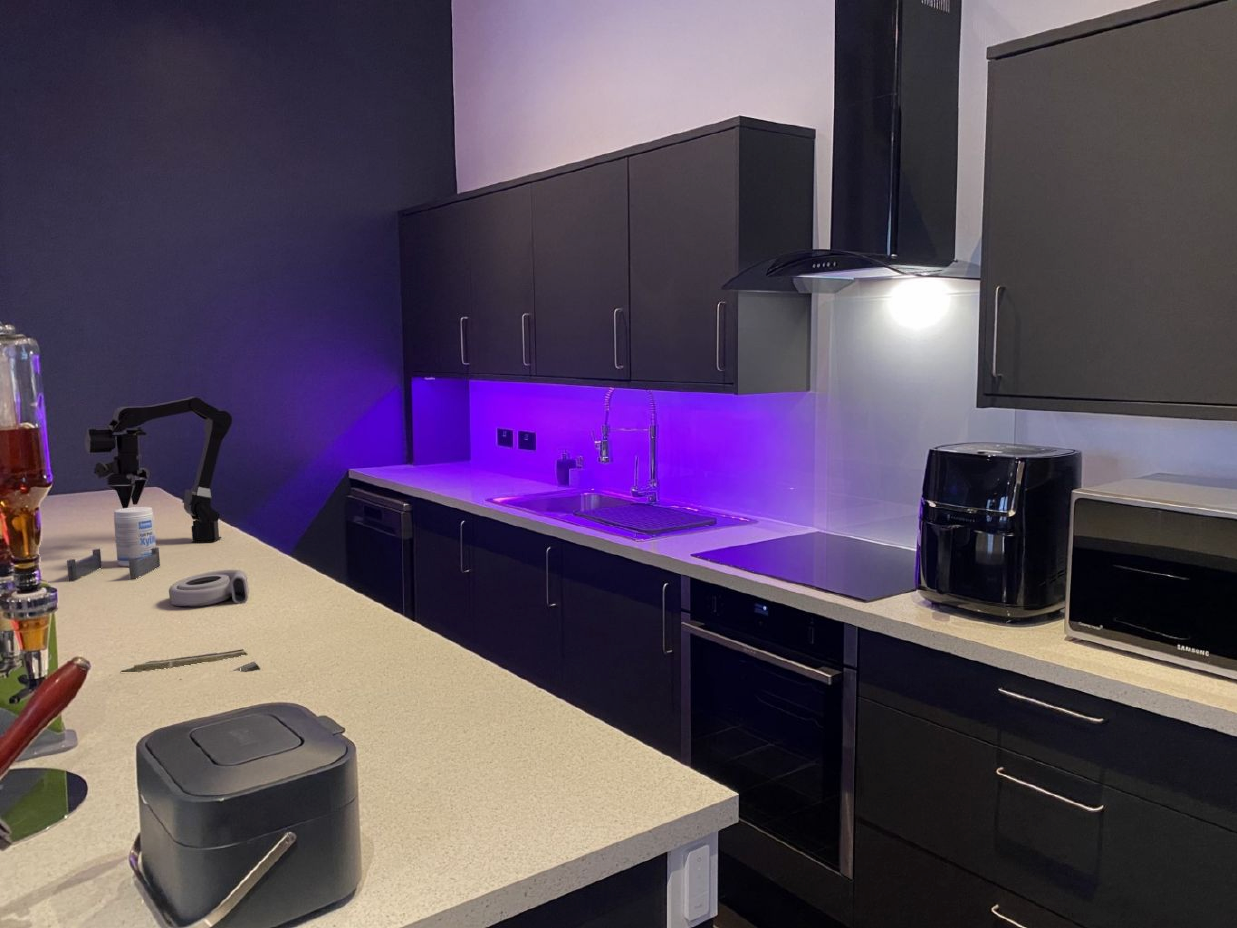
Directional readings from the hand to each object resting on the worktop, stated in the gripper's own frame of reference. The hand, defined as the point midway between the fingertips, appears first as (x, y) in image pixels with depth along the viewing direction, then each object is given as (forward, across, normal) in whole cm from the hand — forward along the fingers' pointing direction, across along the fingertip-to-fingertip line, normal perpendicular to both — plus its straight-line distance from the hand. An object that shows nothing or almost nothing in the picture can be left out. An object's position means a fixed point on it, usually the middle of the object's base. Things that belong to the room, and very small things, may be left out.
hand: (130, 506), depth 278 cm
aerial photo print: (+14, +116, +41) cm, 124 cm away
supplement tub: (+13, +17, +6) cm, 22 cm away
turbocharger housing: (+13, +62, +34) cm, 72 cm away
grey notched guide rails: (+13, +29, +4) cm, 32 cm away
